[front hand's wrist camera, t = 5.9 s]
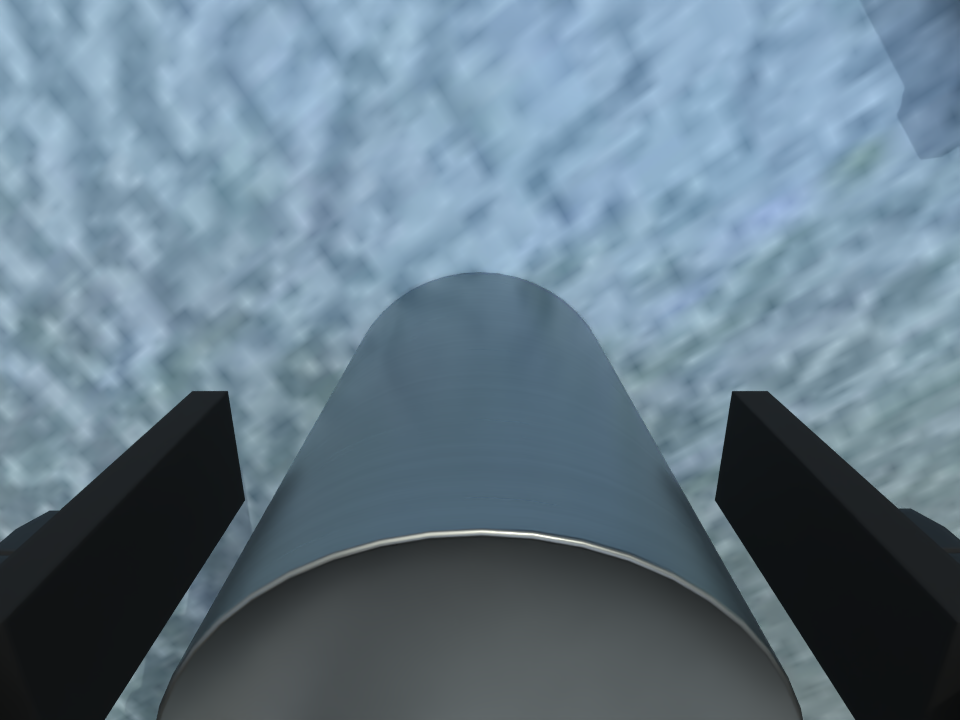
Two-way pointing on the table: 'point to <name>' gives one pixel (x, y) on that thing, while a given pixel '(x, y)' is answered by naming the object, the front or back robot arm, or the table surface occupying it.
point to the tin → (479, 544)
